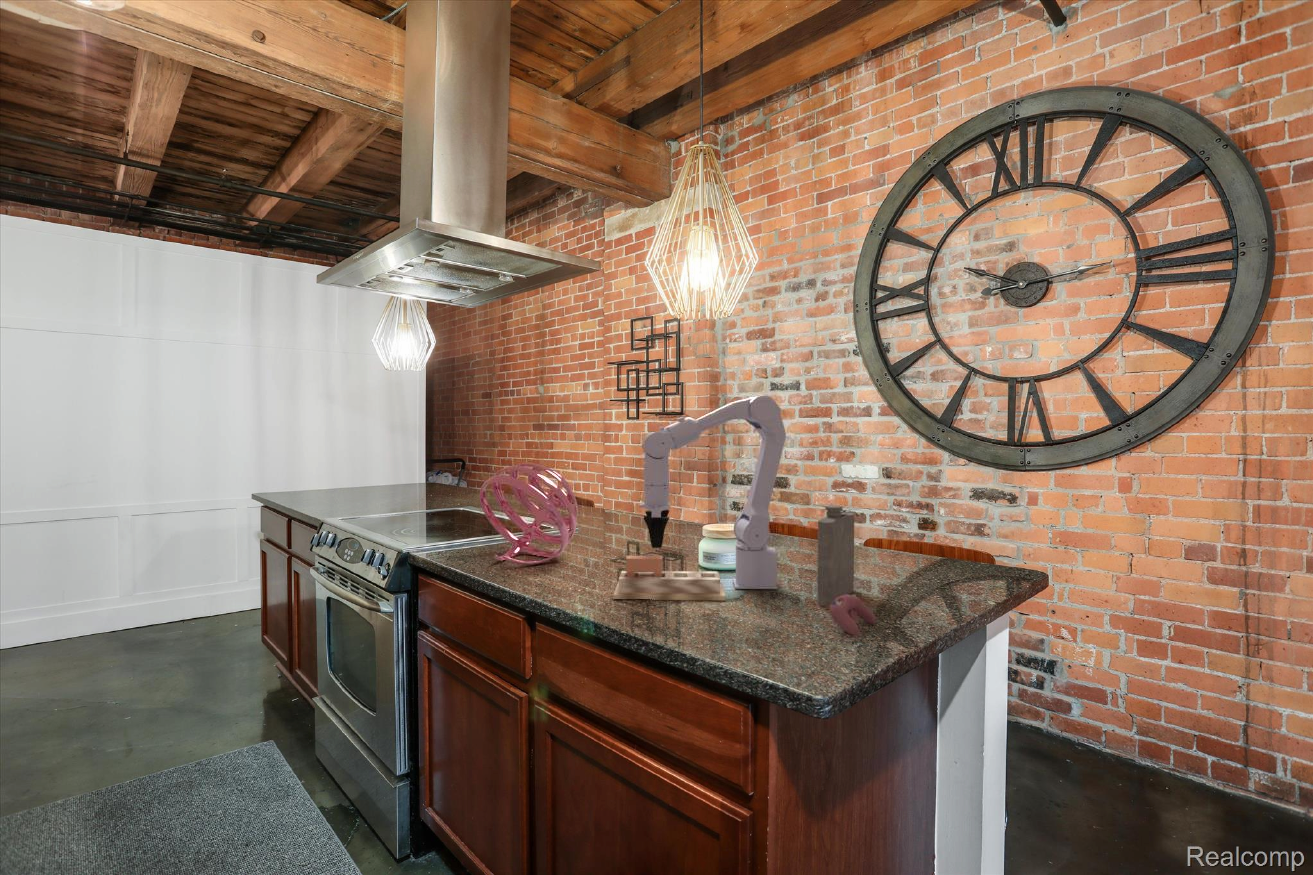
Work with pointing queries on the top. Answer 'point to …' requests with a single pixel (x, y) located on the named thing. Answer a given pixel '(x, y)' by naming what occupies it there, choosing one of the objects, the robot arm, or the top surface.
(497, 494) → the spiral basket
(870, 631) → the top surface
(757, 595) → the top surface
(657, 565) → the clip
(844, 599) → the video game controller
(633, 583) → the cream wooden flat frame
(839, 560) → the hip flask
